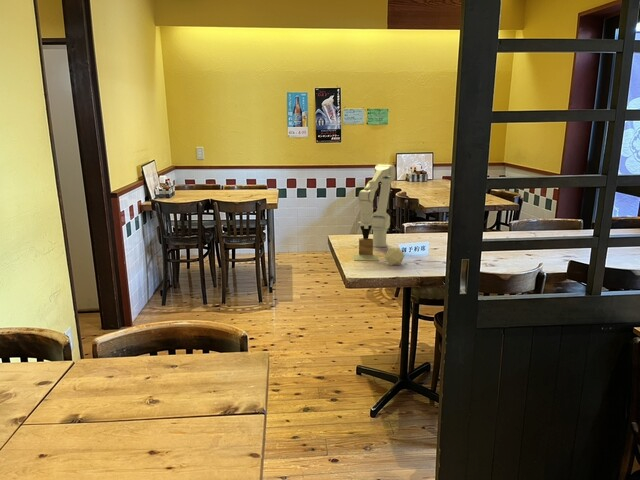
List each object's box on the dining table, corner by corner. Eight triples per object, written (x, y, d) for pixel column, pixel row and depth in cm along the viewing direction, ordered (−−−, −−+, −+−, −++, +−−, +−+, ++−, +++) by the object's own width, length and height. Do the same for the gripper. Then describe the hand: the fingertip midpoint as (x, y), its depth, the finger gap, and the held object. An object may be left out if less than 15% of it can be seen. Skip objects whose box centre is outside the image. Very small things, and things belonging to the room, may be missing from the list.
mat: (354, 255, 236) (354, 255, 236) (377, 255, 235) (377, 255, 235) (354, 260, 227) (354, 259, 227) (378, 260, 226) (378, 260, 226)
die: (401, 268, 215) (409, 250, 217) (385, 260, 214) (393, 242, 216) (395, 270, 223) (403, 252, 225) (379, 261, 222) (388, 244, 224)
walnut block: (358, 253, 240) (359, 238, 238) (372, 253, 239) (372, 238, 238) (359, 255, 237) (359, 240, 235) (372, 255, 236) (373, 240, 234)
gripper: (358, 211, 244) (357, 236, 247) (358, 216, 230) (358, 243, 233) (371, 211, 244) (371, 236, 247) (372, 216, 229) (372, 243, 233)
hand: (365, 239), depth 240 cm, fingers closed
